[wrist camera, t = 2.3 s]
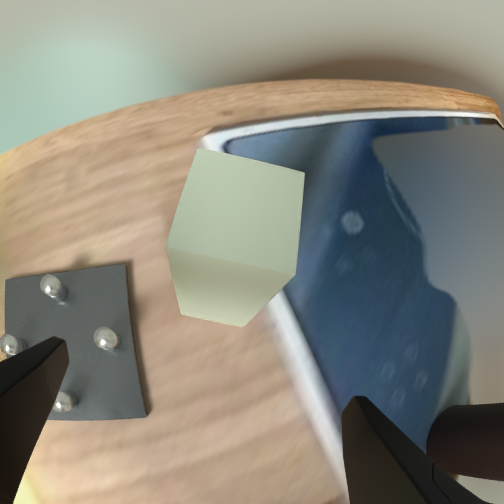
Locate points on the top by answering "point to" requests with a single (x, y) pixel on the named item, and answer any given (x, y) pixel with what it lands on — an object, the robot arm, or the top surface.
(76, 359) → the grey peg board
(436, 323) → the top surface
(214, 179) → the sage block
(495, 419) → the bottle
